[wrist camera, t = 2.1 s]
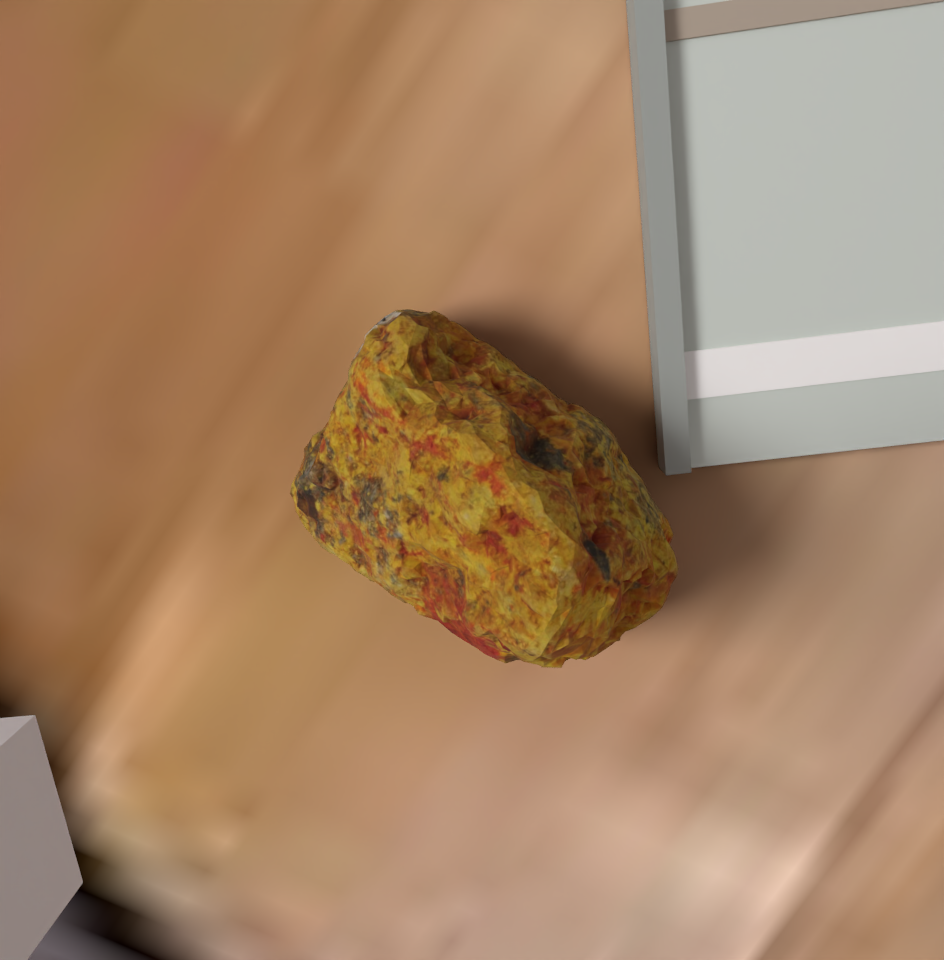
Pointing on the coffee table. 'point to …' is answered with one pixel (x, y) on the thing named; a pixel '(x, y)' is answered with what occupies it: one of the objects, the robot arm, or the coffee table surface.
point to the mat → (791, 224)
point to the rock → (483, 498)
